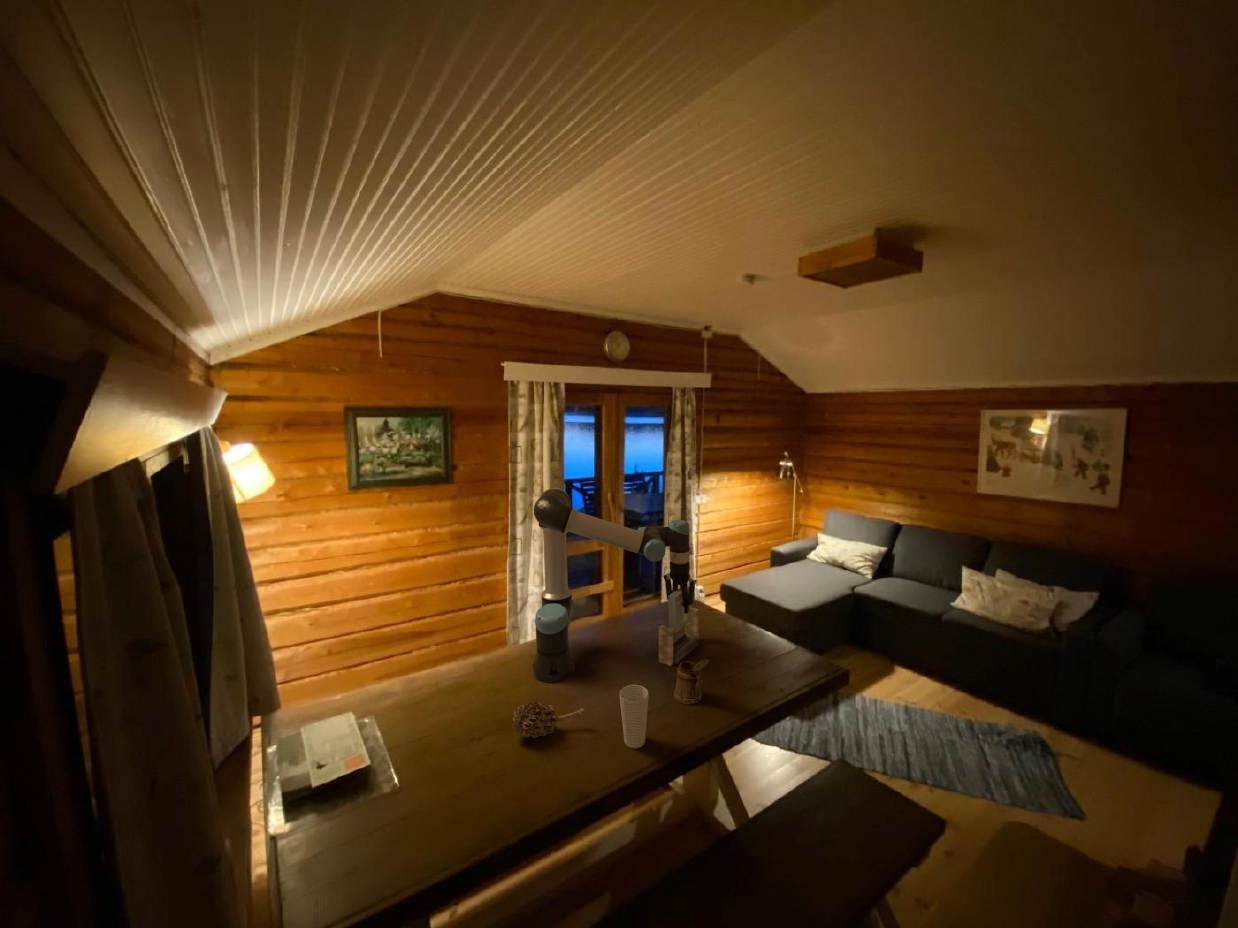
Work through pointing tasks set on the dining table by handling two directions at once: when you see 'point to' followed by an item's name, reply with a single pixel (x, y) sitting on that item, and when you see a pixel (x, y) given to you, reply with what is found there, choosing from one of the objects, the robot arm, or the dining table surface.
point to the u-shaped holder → (678, 641)
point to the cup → (634, 714)
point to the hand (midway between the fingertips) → (680, 619)
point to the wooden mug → (689, 681)
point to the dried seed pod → (538, 719)
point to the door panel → (677, 610)
